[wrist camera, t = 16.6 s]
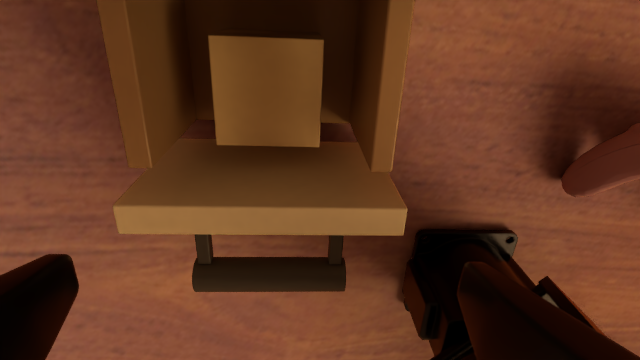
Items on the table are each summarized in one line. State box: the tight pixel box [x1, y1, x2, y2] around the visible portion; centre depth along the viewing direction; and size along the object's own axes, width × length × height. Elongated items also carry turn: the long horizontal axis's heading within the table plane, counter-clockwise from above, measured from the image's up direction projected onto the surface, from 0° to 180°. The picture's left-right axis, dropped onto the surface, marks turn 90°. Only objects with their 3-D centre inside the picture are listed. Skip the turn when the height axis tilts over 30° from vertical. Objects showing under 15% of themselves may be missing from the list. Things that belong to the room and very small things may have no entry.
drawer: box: [96, 0, 415, 292], centre depth 15 cm, size 17×10×7 cm, turn 178°
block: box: [208, 29, 324, 147], centre depth 15 cm, size 4×4×4 cm
